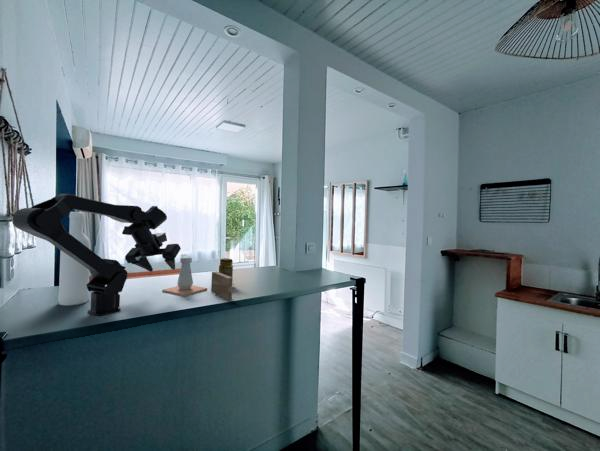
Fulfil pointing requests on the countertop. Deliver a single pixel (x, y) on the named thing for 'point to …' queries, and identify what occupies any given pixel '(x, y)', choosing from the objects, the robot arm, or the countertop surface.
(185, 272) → the salt shaker
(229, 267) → the condiment
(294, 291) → the countertop surface
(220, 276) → the walnut backboard
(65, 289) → the bottle
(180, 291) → the terracotta mat
